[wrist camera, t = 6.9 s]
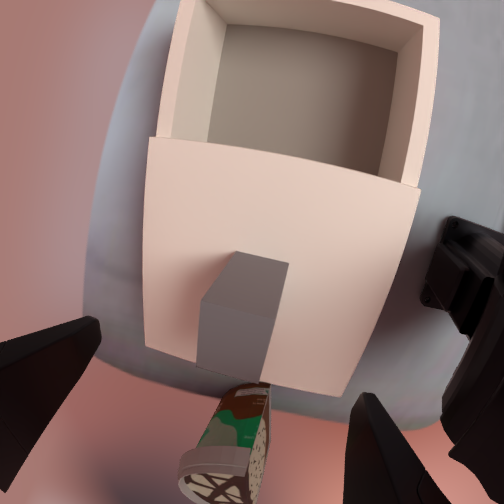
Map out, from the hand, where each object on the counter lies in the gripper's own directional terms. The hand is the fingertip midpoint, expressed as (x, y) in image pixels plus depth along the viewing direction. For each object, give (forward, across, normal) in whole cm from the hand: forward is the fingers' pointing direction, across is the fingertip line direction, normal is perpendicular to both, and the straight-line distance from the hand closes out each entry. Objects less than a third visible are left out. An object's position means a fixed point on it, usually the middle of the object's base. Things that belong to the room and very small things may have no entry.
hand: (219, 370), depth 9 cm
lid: (+6, 0, 0) cm, 6 cm away
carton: (+12, 0, -8) cm, 15 cm away
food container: (+12, 0, +18) cm, 21 cm away
